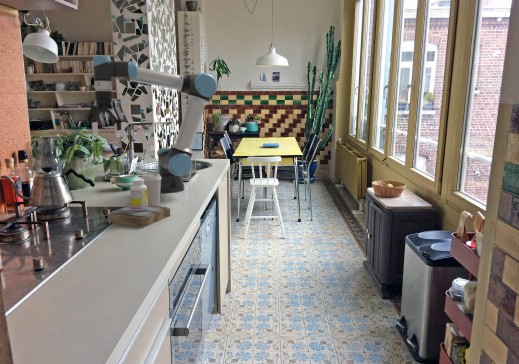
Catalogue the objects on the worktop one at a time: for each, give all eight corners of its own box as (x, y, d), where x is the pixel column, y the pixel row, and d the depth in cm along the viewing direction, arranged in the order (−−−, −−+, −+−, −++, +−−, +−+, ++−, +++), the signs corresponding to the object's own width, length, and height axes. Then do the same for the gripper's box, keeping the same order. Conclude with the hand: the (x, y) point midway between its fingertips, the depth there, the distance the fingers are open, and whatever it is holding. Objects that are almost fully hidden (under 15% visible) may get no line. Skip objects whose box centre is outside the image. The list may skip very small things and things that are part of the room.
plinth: (136, 211, 189) (136, 202, 188) (170, 215, 182) (170, 206, 181) (108, 221, 173) (107, 212, 172) (143, 227, 166) (143, 217, 165)
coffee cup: (157, 209, 192) (156, 177, 189) (138, 208, 194) (136, 176, 191) (166, 204, 201) (165, 173, 198) (147, 203, 203) (146, 172, 200)
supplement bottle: (143, 206, 181) (141, 177, 178) (151, 209, 176) (149, 179, 174) (128, 209, 177) (126, 179, 174) (136, 212, 172) (134, 181, 169)
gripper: (77, 90, 195) (80, 136, 200) (119, 90, 186) (122, 138, 190) (89, 90, 202) (92, 134, 206) (130, 90, 192) (133, 137, 197)
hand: (106, 136), depth 198 cm, fingers open, 13 cm apart
